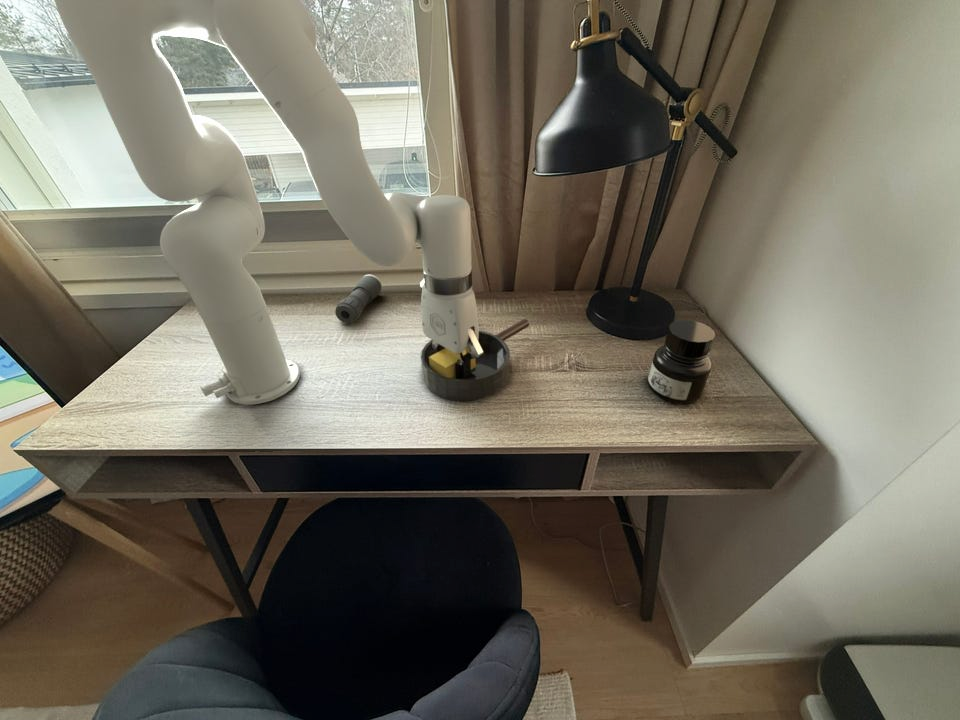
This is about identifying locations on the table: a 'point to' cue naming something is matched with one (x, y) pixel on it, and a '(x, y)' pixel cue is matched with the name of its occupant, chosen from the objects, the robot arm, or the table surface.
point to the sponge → (447, 363)
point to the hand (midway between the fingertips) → (453, 370)
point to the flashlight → (358, 299)
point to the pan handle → (513, 329)
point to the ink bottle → (682, 362)
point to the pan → (480, 382)
